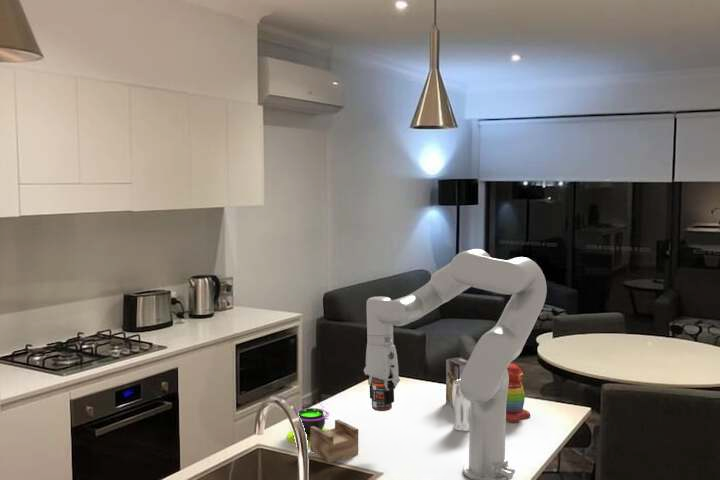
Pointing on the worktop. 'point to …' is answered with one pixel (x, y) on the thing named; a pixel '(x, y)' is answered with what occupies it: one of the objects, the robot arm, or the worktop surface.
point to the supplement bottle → (379, 395)
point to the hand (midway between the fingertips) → (381, 399)
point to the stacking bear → (515, 395)
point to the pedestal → (334, 441)
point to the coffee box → (453, 375)
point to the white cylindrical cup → (460, 409)
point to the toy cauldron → (310, 421)
